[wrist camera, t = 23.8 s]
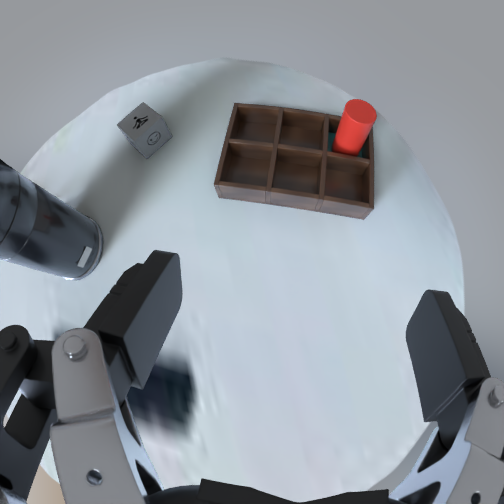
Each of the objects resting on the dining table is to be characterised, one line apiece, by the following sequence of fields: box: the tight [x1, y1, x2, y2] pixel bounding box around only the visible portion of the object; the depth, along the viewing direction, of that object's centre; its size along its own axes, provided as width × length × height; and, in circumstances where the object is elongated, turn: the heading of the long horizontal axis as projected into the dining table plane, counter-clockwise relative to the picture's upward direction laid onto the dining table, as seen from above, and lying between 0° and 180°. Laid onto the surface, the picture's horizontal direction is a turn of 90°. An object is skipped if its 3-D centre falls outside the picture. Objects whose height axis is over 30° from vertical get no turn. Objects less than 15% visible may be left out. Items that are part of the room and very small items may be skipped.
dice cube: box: [117, 102, 172, 159], centre depth 38 cm, size 5×5×5 cm
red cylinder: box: [332, 99, 377, 157], centre depth 33 cm, size 4×4×9 cm
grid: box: [214, 103, 374, 220], centre depth 36 cm, size 19×13×4 cm
